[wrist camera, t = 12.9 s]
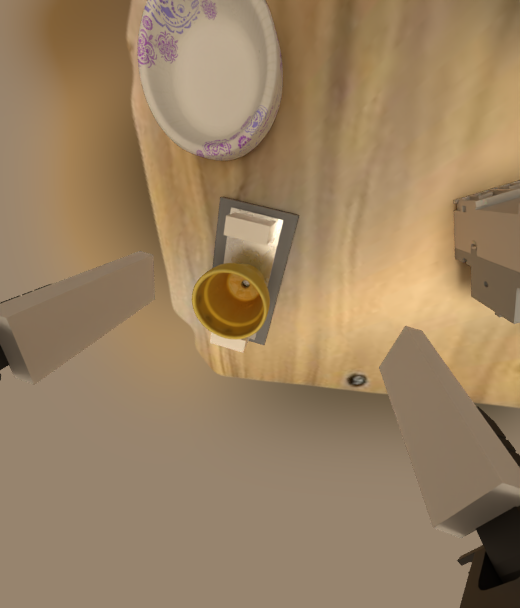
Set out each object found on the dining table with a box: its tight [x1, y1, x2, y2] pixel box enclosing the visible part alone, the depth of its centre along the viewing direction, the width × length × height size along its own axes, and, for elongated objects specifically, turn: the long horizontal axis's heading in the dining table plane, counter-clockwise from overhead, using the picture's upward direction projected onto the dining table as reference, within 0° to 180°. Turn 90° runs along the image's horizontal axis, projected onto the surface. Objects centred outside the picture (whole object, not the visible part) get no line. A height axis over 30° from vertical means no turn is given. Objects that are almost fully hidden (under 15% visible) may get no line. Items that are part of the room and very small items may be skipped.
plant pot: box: [192, 263, 270, 339], centre depth 35 cm, size 10×10×10 cm
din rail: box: [224, 207, 284, 340], centre depth 39 cm, size 22×8×1 cm, turn 168°
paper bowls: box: [138, 0, 283, 161], centre depth 27 cm, size 15×15×8 cm
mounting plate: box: [213, 197, 299, 345], centre depth 40 cm, size 24×12×2 cm, turn 168°
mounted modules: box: [210, 213, 276, 352], centre depth 37 cm, size 21×6×5 cm, turn 168°
